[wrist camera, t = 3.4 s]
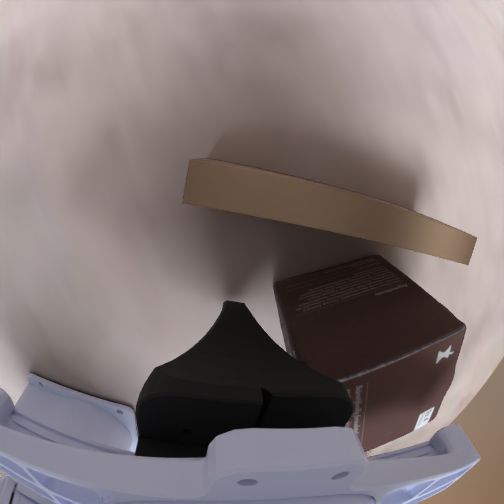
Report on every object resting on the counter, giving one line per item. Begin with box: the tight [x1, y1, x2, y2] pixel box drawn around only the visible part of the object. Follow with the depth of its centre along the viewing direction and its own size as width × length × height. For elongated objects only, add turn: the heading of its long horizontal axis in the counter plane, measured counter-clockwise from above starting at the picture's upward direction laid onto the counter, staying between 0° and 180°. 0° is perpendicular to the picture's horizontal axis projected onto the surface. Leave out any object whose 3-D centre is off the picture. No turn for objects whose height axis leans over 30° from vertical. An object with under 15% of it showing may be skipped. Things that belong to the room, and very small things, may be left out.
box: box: [273, 255, 466, 452], centre depth 11 cm, size 6×6×7 cm
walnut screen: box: [182, 159, 477, 265], centre depth 10 cm, size 11×1×5 cm, turn 78°
